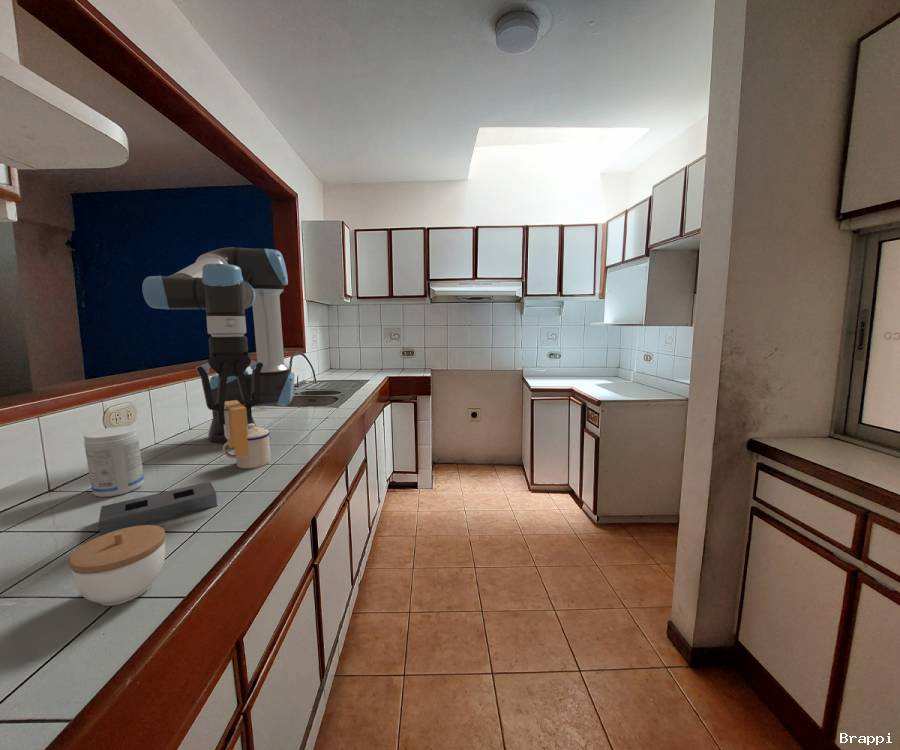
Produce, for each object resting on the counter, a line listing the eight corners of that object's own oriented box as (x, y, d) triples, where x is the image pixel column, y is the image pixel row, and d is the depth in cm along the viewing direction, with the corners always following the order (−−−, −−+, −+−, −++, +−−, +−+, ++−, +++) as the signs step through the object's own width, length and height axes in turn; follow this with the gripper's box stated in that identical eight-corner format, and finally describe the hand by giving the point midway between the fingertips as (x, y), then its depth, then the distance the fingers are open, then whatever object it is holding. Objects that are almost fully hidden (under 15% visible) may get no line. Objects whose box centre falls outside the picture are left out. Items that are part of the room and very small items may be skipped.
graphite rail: (103, 520, 77) (101, 506, 77) (211, 493, 89) (210, 481, 89) (100, 537, 71) (98, 522, 70) (217, 505, 83) (216, 492, 82)
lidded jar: (107, 573, 61) (100, 519, 59) (182, 563, 63) (176, 511, 62) (55, 625, 50) (44, 561, 49) (147, 611, 53) (139, 549, 51)
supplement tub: (136, 478, 98) (129, 423, 96) (151, 486, 93) (144, 429, 91) (86, 492, 90) (77, 432, 88) (99, 502, 85) (90, 439, 83)
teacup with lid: (272, 456, 114) (270, 418, 112) (269, 466, 105) (267, 426, 104) (227, 461, 110) (224, 422, 108) (220, 472, 101) (217, 431, 99)
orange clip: (226, 445, 91) (222, 401, 90) (240, 443, 93) (236, 400, 91) (235, 458, 83) (231, 410, 82) (250, 455, 85) (246, 408, 84)
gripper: (186, 337, 76) (197, 447, 80) (270, 335, 86) (277, 433, 90) (182, 335, 82) (193, 438, 85) (262, 333, 92) (269, 426, 96)
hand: (236, 435), depth 88 cm, fingers closed on orange clip, 3 cm apart
